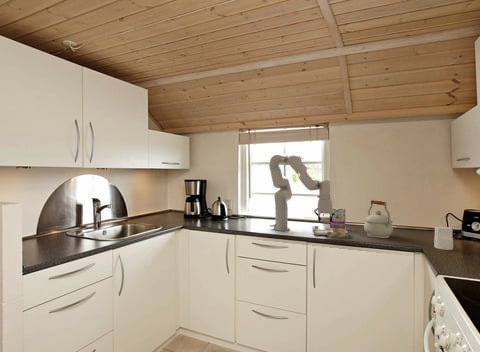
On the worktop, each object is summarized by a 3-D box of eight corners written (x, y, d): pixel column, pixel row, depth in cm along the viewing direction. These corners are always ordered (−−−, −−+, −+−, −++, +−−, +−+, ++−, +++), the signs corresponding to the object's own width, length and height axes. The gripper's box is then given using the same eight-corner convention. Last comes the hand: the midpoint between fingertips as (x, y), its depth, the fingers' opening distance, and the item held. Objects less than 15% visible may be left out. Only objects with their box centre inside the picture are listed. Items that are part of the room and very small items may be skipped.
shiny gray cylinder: (312, 231, 214) (312, 226, 214) (312, 230, 218) (312, 225, 218) (318, 231, 213) (318, 226, 213) (318, 230, 217) (318, 225, 217)
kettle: (401, 239, 188) (401, 202, 188) (376, 240, 185) (376, 202, 185) (377, 231, 213) (377, 198, 213) (355, 232, 210) (355, 199, 210)
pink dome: (320, 220, 199) (320, 218, 199) (319, 219, 206) (319, 216, 206) (330, 220, 197) (330, 218, 197) (329, 219, 204) (329, 216, 204)
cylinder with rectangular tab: (445, 245, 170) (445, 226, 170) (457, 249, 161) (457, 229, 161) (430, 245, 170) (430, 226, 170) (441, 249, 161) (441, 229, 161)
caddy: (327, 236, 194) (327, 231, 194) (325, 232, 208) (325, 228, 208) (348, 237, 192) (348, 232, 192) (345, 233, 205) (345, 228, 205)
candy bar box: (345, 229, 223) (345, 208, 223) (344, 230, 219) (344, 209, 219) (331, 227, 228) (331, 207, 228) (329, 228, 224) (330, 208, 224)
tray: (313, 234, 197) (313, 229, 197) (312, 230, 210) (312, 226, 210) (334, 235, 194) (334, 230, 194) (332, 231, 207) (332, 226, 207)
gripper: (312, 197, 200) (312, 222, 200) (338, 197, 196) (338, 223, 196) (312, 197, 207) (312, 221, 207) (336, 197, 203) (337, 221, 203)
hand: (325, 221), depth 201 cm, fingers closed on pink dome, 7 cm apart
